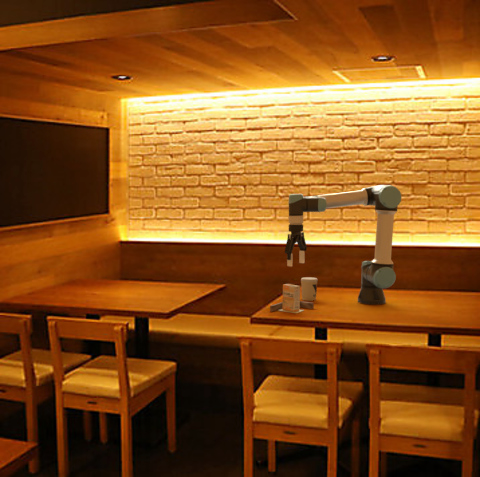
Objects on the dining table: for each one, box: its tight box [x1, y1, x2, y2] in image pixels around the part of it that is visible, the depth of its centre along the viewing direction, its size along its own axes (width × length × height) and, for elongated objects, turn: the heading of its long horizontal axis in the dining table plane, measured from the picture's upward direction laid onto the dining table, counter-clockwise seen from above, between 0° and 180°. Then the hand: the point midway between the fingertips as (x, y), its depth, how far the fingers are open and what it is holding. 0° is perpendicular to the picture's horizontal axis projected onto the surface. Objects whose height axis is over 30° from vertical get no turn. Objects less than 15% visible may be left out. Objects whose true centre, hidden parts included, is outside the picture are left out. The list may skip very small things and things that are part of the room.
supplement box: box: [282, 283, 301, 312], centre depth 351 cm, size 8×5×13 cm, turn 43°
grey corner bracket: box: [269, 300, 315, 313], centre depth 353 cm, size 14×20×3 cm
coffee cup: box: [300, 276, 319, 302], centre depth 383 cm, size 9×9×12 cm
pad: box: [277, 309, 305, 314], centre depth 352 cm, size 11×8×1 cm
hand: (296, 264), depth 354 cm, fingers open, 13 cm apart
